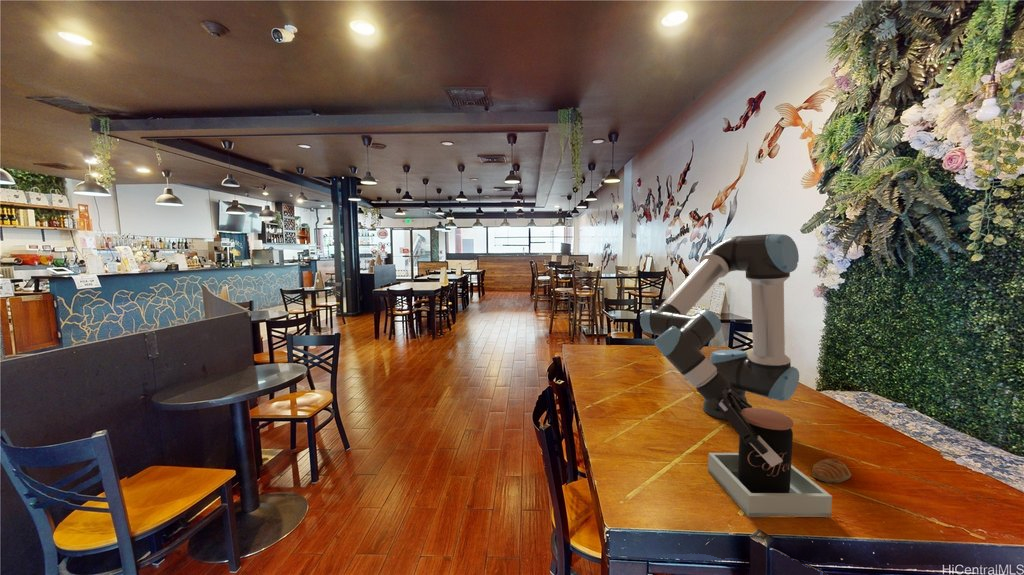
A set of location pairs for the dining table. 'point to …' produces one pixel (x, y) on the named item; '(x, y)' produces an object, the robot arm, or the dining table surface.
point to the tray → (798, 502)
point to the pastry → (830, 471)
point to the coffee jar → (779, 438)
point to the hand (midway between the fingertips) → (774, 449)
